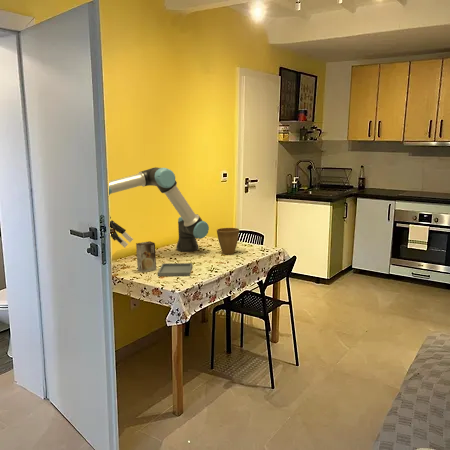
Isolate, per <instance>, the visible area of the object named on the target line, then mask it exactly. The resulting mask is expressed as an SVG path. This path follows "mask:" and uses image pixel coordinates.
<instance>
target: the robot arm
mask: <svg viewBox="0 0 450 450" xmlns="http://www.w3.org/2000/svg"><path fill="white" fill-rule="evenodd" d="M177 183H178V182H177V180H176V175H175V173H174V171H173V170H171V169H169V168H167V167H156V166H155V167H151V168H148V169H145V170H142V171H141V170H140V171H138V172H137V173H135V174H132V175H129V176H125V177H121V178H116V179H113V180H109V196H110V195H111V194H115V193H118V192H122V191H126V190H130V189H134V188H137V187H142V188H144V187H148V186H149V187H150V186H153V187H156V188H157V189H158V191H160V193H161V194H164V195H166V197H167V198H168V200H169V201H170V203H171V205H172V206H173V207H174V209H175V210H176V212H177V213H178V215H179V217H178V219H177V225H178V226H177V228H178V231H177V232H178V239H177V244H176V247H175V248H176V251H178V252H182V253H186V252H189V253H190V252H195V251H199V243H198V241H197V239H204V238H205V237H206V236H207V235H208V234H209V229H210V226H209V224H208V222H207V221H204V220H203V219H202V218H201V217H200V215H199V214H196V213H195V211H194V210H193V209H192V207H191V206H190V204H189V203H188V201H187V199H186V198H185V196H184V195H183V193H182V192H181V191H180V190H179V188H178V186H177V185H178V184H177ZM111 218H112V217H111V216H110V227H111V228H113V229H115V233H113V234H112V233H111V236H110V237H111V239H112V240H113V241H114V242H115V241H117V242H118V244H120V245H121V246H122V247H123V248H126V247H128V245H129V243H131V242H132V241H134V238H133V237H132V236H130V235H129V233H127V231H126V230H127V229H125V228H123V227H122V226H121V225H119V223H117V222H115V221H114V220H113V219H112V220H111ZM118 233H119V234H120V235H121V236H119V234H118ZM122 237H123V238H124V239H123V238H122ZM125 240H126V241H125ZM127 241H128V242H129V243H128V242H127Z"/></svg>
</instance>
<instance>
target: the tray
mask: <svg viewBox="0 0 450 450" xmlns="http://www.w3.org/2000/svg"><path fill="white" fill-rule="evenodd" d="M192 269H193V263H191V262H190V263H189V262H188V263H187V262H186V263H185V262H184V263H179V262H178V263H170V262H169V263H165V262H164V263H162V264H161V266H160V268H159V269H158V271H157V277H191V273H192Z"/></svg>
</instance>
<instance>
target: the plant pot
mask: <svg viewBox="0 0 450 450" xmlns="http://www.w3.org/2000/svg"><path fill="white" fill-rule="evenodd" d="M216 234H217V240H218V243H219V247H220V249H221V253H222V254H223V253H224V254H223V255H234V254H233V253H235V251H236V250H237V245H238V240H239V235H240V229H239V228H238V227H221V228H217V229H216Z"/></svg>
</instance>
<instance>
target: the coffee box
mask: <svg viewBox="0 0 450 450" xmlns="http://www.w3.org/2000/svg"><path fill="white" fill-rule="evenodd" d="M135 247H136V262H137V263H136V264H137V266H136V267H137V271H138V272H141V273H145V272H153V271H157V259H156V243H155V242H153V241H144V242H143V241H142V242H136V243H135Z"/></svg>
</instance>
